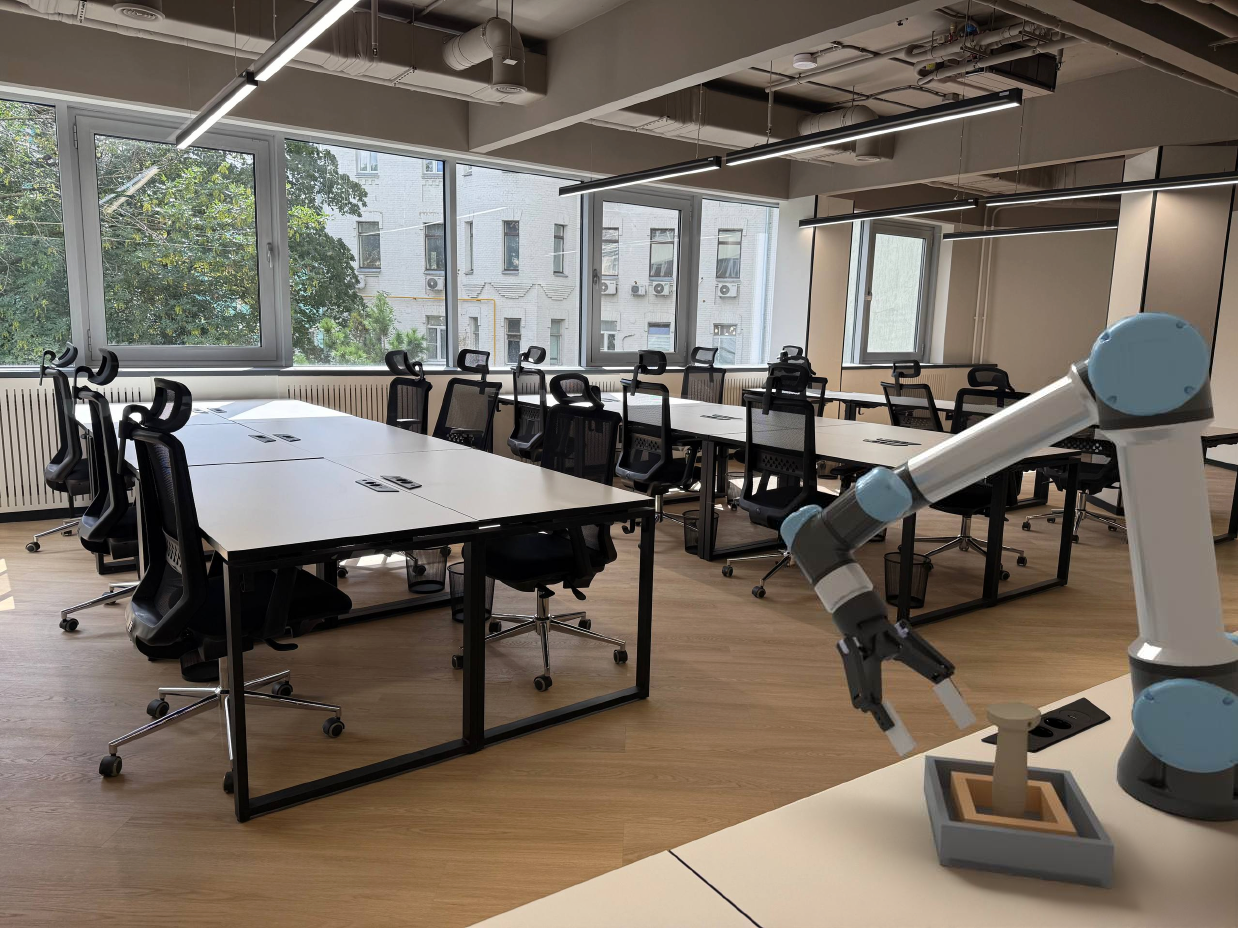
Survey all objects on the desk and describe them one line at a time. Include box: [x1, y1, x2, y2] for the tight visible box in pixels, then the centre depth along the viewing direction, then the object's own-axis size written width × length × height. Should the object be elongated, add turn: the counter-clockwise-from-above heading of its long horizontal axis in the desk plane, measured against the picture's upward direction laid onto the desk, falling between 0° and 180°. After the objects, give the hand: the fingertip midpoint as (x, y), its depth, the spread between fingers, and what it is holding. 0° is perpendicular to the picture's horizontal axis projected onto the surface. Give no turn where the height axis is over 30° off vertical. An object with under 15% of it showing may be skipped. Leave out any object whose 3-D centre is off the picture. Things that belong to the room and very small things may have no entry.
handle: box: [986, 701, 1042, 819], centre depth 103 cm, size 5×6×15 cm
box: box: [923, 754, 1115, 889], centre depth 104 cm, size 18×18×5 cm
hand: (940, 738), depth 111 cm, fingers open, 13 cm apart
